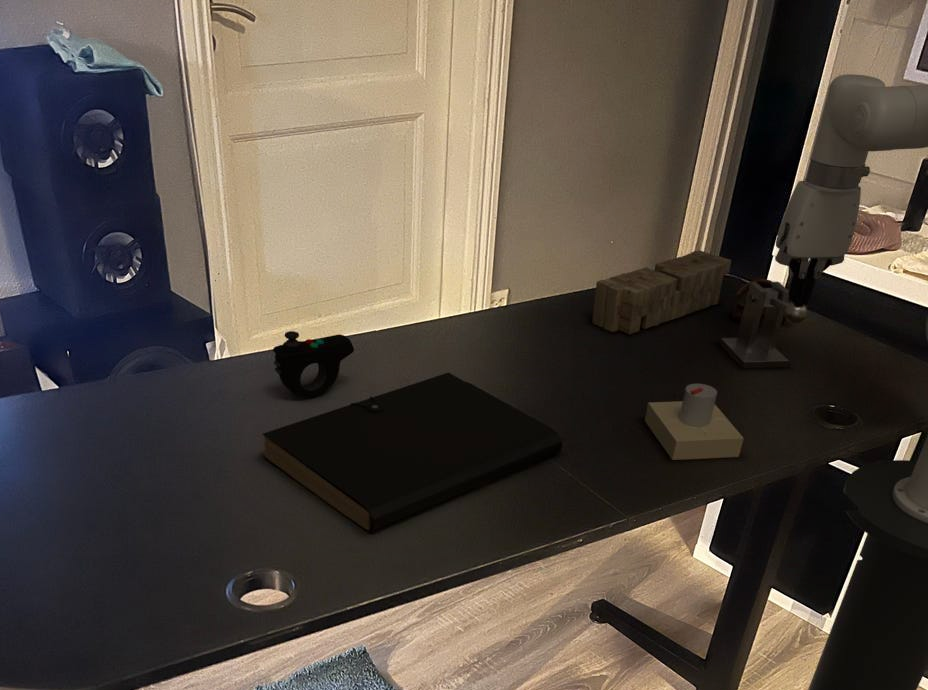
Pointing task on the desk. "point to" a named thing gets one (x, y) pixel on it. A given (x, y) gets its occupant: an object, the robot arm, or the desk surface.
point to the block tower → (659, 292)
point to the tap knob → (698, 404)
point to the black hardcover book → (408, 448)
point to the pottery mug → (739, 304)
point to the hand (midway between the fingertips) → (797, 301)
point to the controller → (310, 362)
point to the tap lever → (785, 306)
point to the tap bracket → (747, 345)
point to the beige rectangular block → (692, 433)
